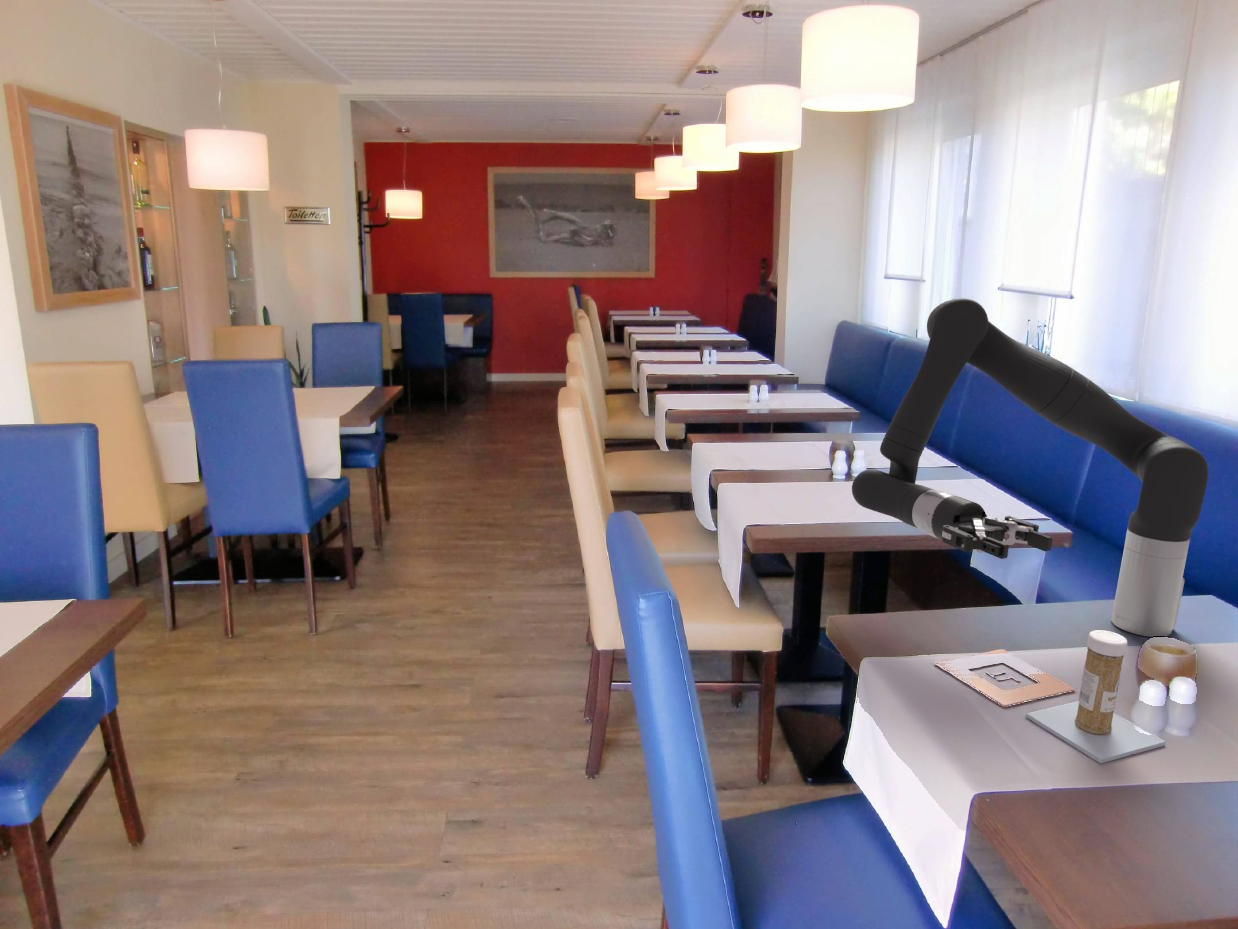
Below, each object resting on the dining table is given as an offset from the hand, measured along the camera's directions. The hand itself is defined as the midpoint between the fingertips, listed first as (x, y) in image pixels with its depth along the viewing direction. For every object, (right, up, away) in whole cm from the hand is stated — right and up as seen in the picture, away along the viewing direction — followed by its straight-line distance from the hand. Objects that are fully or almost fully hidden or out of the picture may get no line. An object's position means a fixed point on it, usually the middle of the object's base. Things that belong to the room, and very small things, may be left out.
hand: (1028, 548), depth 129 cm
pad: (+5, -24, -8) cm, 26 cm away
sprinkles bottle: (+5, -24, -8) cm, 26 cm away
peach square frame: (-1, -20, +6) cm, 21 cm away
